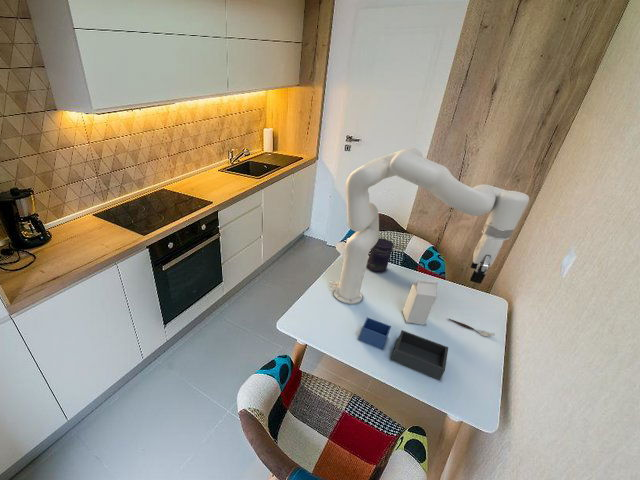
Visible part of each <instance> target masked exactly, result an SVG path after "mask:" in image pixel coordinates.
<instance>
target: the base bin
mask: <svg viewBox="0 0 640 480" xmlns="http://www.w3.org/2000/svg"><path fill="white" fill-rule="evenodd" d="M448 352H449V347H448V346H446V345H443V344H441V343H438V342H435V341H432V340H430V339H428V338H424V337H423V336H419V335H417V334H414V333H412V332H409V331H405V330H400V333H399V336H398V338H397V342H396V345H395V348H394V350H393V354H392V356H391V359H390V361H392V362H394V363H397V364H399V365H401V366H404V367H406V368H409V369H411V370H414V371H416V372H418V373H421V374H423V375H426V376H428V377H431V378H433V379H435V380H438V381H440V380H441V378H442V377H443V375H444V374H445V371H446V366H447V360H448V355H449V353H448Z"/></svg>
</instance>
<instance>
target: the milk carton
mask: <svg viewBox="0 0 640 480" xmlns="http://www.w3.org/2000/svg"><path fill="white" fill-rule="evenodd" d="M438 283H439V282H438V281H437V282H436V281H429V280H419V279H418V280H417V282H414V283H412V285H411V288H410V290H409V293H408V296H407V298H406V301H405V304H404V307H403V309H402V313H403V317H404V320H405V323H407V324H413V325H414V324H415V325H421V326H425V325H426V323H427V320H428V318H429V316H430V313H431V312H432V309H433V306H434V304H435V302H436V300H437V297H438Z"/></svg>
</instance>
